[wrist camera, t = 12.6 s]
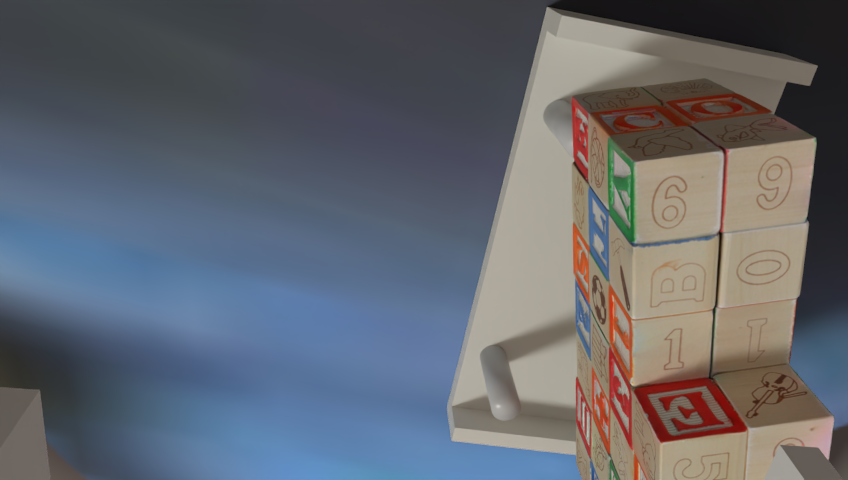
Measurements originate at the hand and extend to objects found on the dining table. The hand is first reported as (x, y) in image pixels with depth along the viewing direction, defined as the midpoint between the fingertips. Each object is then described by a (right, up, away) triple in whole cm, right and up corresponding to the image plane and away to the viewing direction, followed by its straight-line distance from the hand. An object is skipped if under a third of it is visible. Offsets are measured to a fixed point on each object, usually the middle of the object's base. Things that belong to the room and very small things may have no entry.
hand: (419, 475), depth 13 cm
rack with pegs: (+10, +4, +29) cm, 31 cm away
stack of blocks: (+11, +2, +23) cm, 26 cm away
